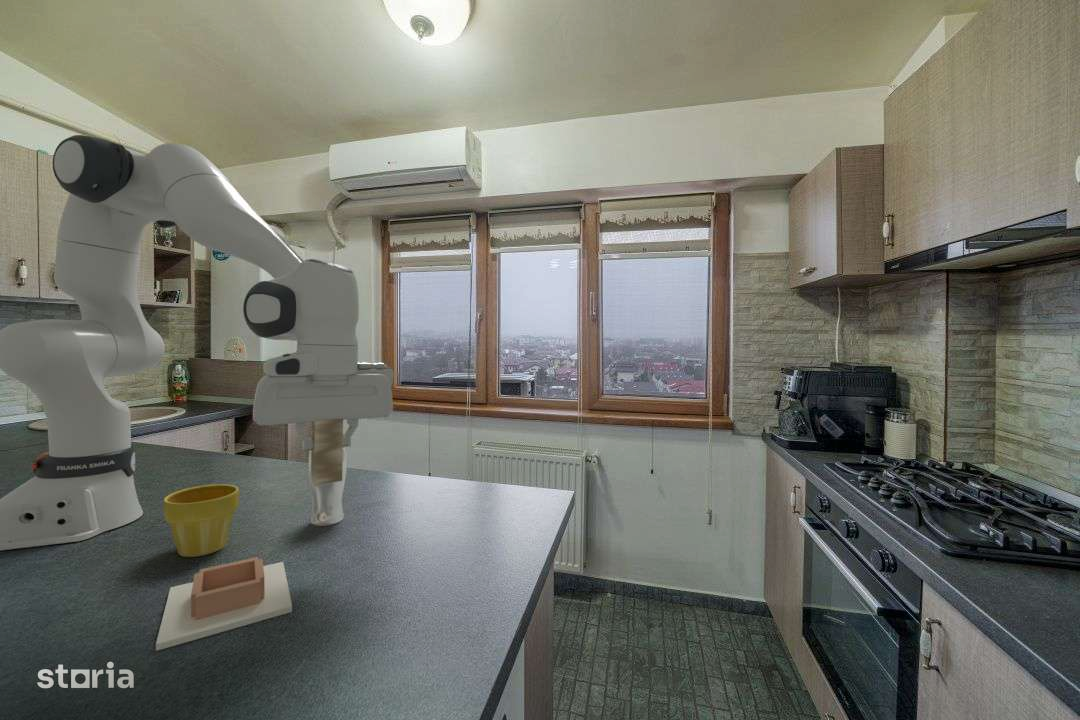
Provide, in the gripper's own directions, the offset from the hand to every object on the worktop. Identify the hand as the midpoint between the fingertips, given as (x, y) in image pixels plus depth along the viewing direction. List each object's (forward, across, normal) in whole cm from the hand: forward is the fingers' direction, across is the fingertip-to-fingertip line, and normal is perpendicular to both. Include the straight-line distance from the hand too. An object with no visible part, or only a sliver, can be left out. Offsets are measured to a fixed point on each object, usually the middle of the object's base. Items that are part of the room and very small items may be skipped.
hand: (326, 448), depth 71 cm
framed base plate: (+19, +13, +4) cm, 24 cm away
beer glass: (+20, -3, -19) cm, 27 cm away
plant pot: (+20, +17, -17) cm, 31 cm away
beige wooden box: (+5, 0, 0) cm, 5 cm away
